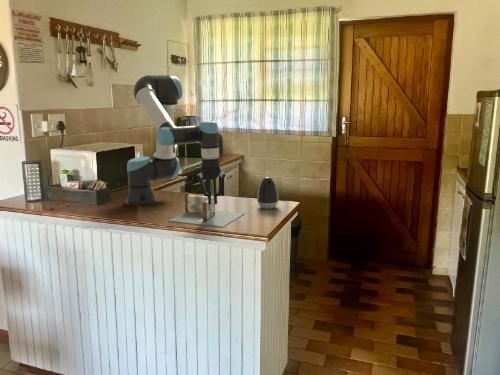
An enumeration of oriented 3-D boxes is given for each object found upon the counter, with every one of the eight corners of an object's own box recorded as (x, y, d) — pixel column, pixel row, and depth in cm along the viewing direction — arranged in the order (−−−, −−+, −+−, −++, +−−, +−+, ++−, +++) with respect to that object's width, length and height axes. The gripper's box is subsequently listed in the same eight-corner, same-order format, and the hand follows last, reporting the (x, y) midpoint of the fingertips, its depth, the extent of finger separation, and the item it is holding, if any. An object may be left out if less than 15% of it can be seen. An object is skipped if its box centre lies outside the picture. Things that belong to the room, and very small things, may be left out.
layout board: (168, 221, 188) (167, 220, 188) (193, 209, 208) (193, 208, 208) (222, 227, 178) (222, 226, 178) (244, 214, 197) (244, 213, 197)
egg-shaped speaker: (261, 211, 202) (260, 179, 199) (254, 206, 212) (254, 175, 208) (281, 209, 204) (281, 178, 201) (274, 204, 214) (274, 174, 211)
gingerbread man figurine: (66, 205, 221) (63, 182, 219) (71, 206, 219) (68, 183, 217) (50, 209, 214) (47, 185, 211) (55, 210, 212) (52, 186, 209)
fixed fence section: (184, 212, 201) (183, 193, 199) (187, 210, 204) (186, 192, 202) (213, 215, 195) (212, 195, 193) (216, 213, 198) (215, 194, 196)
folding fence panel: (209, 214, 195) (209, 197, 194) (213, 214, 195) (213, 197, 193) (202, 220, 185) (201, 202, 184) (206, 220, 185) (205, 202, 183)
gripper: (194, 159, 179) (197, 214, 184) (225, 158, 179) (227, 213, 184) (196, 157, 186) (199, 209, 191) (225, 156, 187) (228, 208, 191)
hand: (213, 211), depth 187 cm, fingers closed
